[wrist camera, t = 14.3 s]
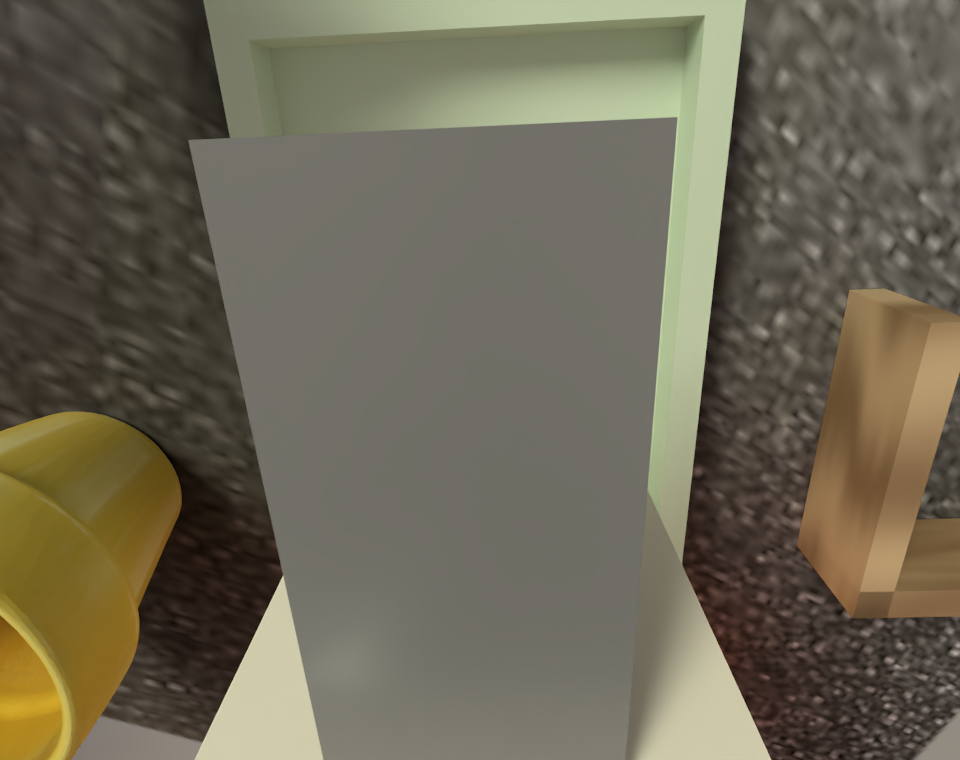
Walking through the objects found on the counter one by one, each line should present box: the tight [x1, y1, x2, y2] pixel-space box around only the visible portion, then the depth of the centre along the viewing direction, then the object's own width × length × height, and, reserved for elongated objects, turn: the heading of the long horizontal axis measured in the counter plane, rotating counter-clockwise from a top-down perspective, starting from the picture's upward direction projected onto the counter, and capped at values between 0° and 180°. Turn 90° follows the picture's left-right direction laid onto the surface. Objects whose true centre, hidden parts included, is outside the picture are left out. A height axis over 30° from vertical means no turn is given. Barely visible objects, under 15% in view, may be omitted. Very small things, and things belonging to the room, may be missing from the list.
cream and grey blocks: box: [188, 117, 771, 760], centre depth 8 cm, size 14×5×7 cm, turn 2°
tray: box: [203, 0, 746, 564], centre depth 20 cm, size 20×14×2 cm
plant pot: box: [0, 412, 182, 760], centre depth 19 cm, size 10×10×10 cm
